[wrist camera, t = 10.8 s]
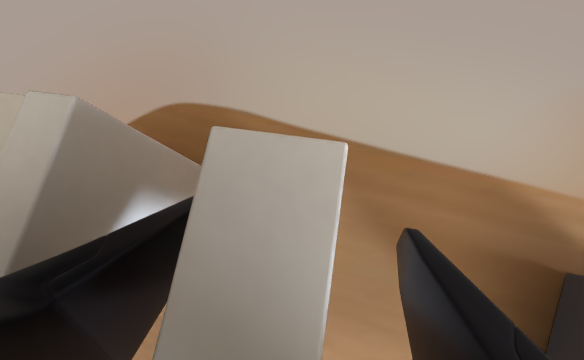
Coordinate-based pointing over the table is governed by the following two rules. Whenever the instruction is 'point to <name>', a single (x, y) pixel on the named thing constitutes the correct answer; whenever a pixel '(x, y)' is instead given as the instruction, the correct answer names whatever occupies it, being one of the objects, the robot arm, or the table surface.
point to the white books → (76, 176)
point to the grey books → (569, 322)
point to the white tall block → (256, 250)
